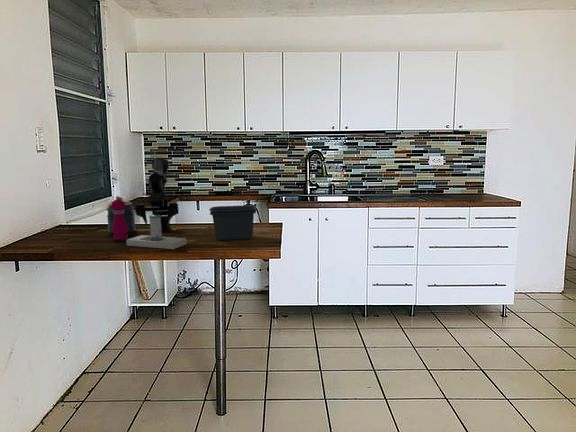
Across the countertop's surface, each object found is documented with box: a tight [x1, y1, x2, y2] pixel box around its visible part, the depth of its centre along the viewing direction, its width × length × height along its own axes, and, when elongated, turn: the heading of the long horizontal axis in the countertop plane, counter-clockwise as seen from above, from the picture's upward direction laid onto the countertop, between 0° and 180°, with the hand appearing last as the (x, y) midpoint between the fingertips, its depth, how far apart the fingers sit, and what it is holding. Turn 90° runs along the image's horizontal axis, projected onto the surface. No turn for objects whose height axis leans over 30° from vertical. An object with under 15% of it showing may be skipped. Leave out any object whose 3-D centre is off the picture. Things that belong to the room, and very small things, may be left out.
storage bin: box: [208, 204, 257, 241], centre depth 213 cm, size 21×16×14 cm
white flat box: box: [125, 234, 188, 250], centre depth 201 cm, size 24×10×3 cm, turn 70°
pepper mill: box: [111, 195, 129, 241], centre depth 213 cm, size 7×7×20 cm
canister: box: [106, 196, 136, 235], centre depth 230 cm, size 13×13×18 cm
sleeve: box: [149, 214, 163, 241], centre depth 200 cm, size 5×5×13 cm
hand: (156, 224), depth 206 cm, fingers open, 9 cm apart
